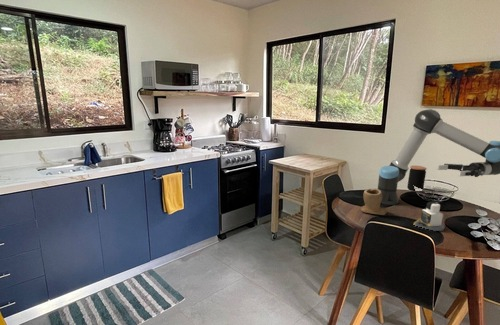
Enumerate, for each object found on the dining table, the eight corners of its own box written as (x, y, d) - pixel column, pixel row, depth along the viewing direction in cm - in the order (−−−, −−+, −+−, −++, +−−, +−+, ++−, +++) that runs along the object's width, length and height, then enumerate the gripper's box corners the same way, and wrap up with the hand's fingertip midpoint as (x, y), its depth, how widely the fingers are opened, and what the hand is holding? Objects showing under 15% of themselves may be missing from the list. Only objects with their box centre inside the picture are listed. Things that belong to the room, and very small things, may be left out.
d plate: (447, 226, 158) (447, 223, 158) (440, 233, 150) (440, 231, 149) (421, 219, 168) (421, 216, 167) (413, 225, 159) (413, 222, 159)
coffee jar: (425, 192, 214) (428, 169, 210) (409, 191, 216) (413, 168, 212) (419, 188, 224) (423, 165, 220) (405, 187, 227) (408, 165, 222)
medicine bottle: (419, 221, 161) (423, 200, 159) (431, 220, 162) (434, 200, 160) (429, 226, 155) (432, 205, 152) (441, 226, 155) (445, 205, 153)
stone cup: (359, 214, 174) (361, 190, 170) (361, 207, 184) (364, 185, 180) (386, 219, 167) (390, 194, 163) (387, 212, 177) (390, 189, 174)
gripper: (500, 181, 153) (468, 183, 148) (457, 169, 176) (429, 171, 172) (503, 167, 151) (471, 169, 146) (460, 157, 174) (430, 159, 170)
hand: (448, 170), depth 159 cm, fingers open, 13 cm apart
